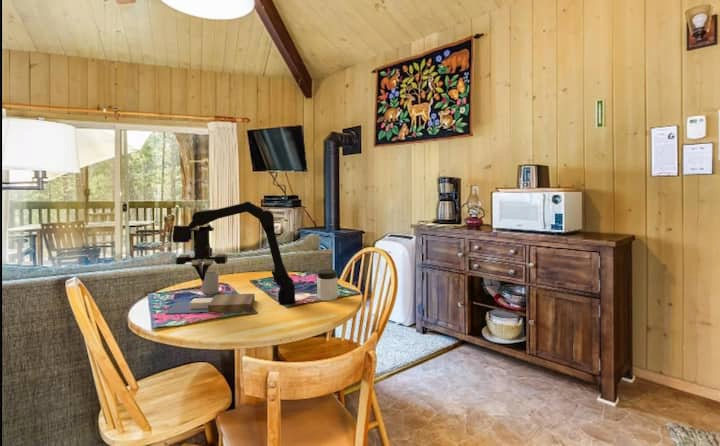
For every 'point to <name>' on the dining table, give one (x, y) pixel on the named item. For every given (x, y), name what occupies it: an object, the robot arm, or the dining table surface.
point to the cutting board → (231, 303)
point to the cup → (210, 283)
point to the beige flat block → (200, 303)
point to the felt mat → (184, 308)
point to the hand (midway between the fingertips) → (203, 280)
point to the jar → (327, 284)
